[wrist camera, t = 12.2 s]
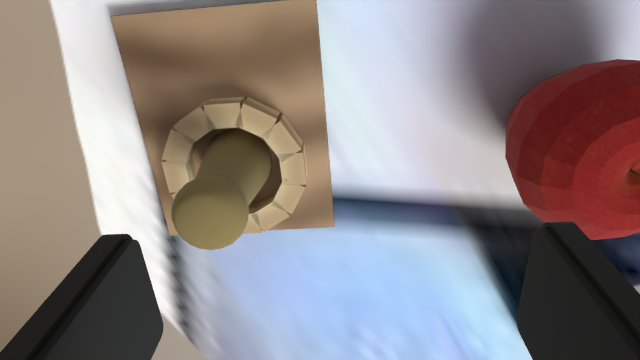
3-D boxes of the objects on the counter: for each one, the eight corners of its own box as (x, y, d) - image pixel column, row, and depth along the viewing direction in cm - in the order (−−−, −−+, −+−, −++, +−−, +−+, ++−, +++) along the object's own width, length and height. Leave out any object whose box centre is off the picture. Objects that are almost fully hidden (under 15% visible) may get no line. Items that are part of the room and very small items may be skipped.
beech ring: (157, 102, 36) (147, 109, 34) (298, 92, 35) (296, 98, 33) (187, 225, 41) (180, 236, 39) (312, 218, 40) (311, 230, 38)
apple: (571, 11, 33) (706, 30, 21) (654, 111, 36) (815, 179, 24) (450, 123, 37) (504, 193, 25) (534, 204, 40) (619, 302, 28)
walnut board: (116, 15, 34) (110, 16, 33) (316, -3, 33) (315, -3, 32) (173, 230, 43) (170, 235, 42) (334, 221, 41) (334, 226, 40)
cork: (211, 119, 36) (164, 173, 27) (280, 140, 37) (258, 199, 27) (199, 180, 39) (151, 250, 29) (264, 199, 40) (238, 273, 30)
